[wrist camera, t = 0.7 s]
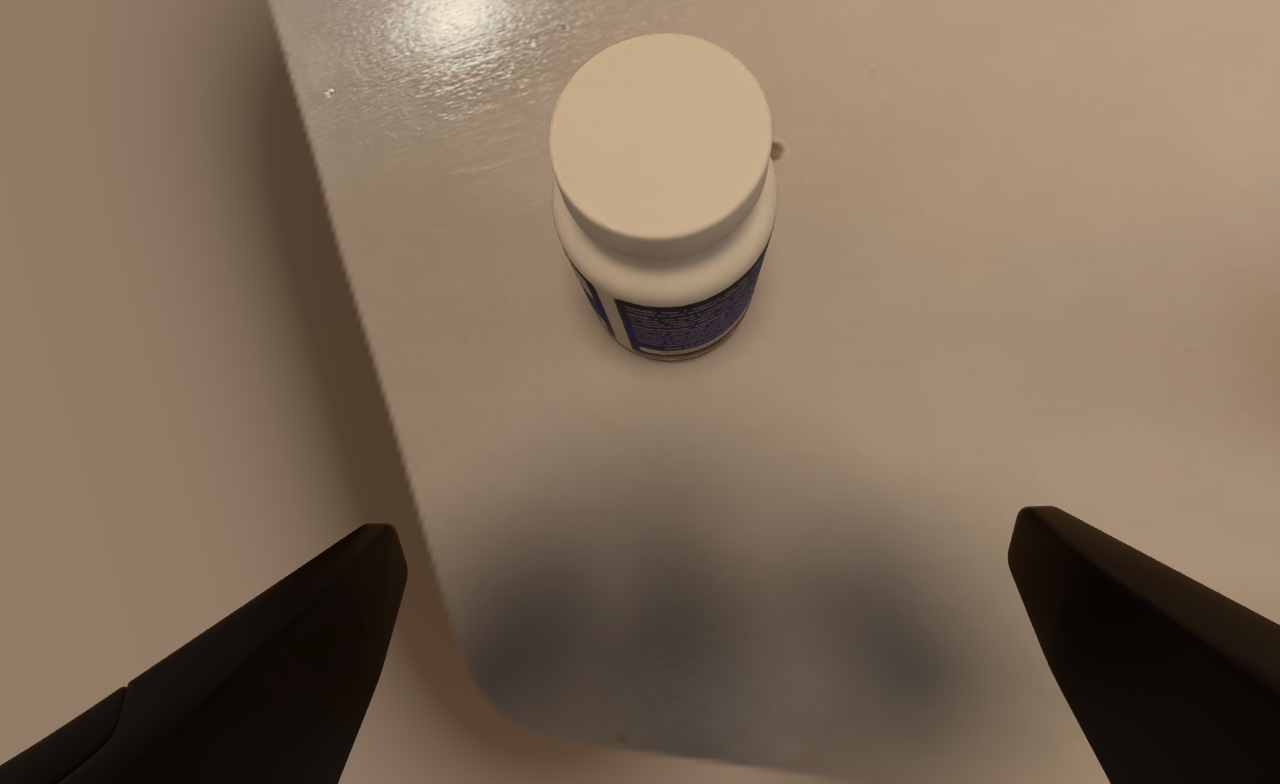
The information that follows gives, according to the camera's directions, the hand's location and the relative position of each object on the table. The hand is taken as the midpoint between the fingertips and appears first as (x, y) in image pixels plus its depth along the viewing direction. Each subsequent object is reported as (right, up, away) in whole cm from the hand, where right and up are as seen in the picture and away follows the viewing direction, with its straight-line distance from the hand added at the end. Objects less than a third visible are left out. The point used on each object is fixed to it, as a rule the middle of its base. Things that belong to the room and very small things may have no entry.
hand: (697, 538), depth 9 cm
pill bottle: (0, +6, +14) cm, 15 cm away
